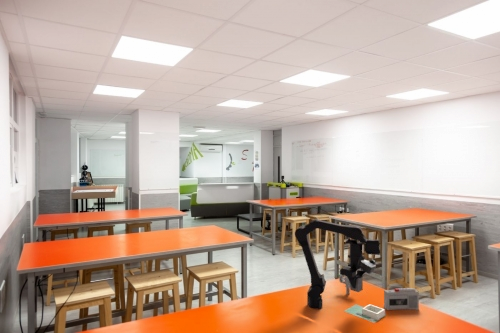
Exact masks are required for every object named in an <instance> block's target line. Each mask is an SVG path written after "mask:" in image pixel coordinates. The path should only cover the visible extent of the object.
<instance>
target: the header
mask: <svg viewBox="0 0 500 333" xmlns="http://www.w3.org/2000/svg"><path fill="white" fill-rule="evenodd" d="M363 307H364V308H362V314H363V315H366V316H368V317H371V318H375V319H377V320H378V319H380V318H381V317H383V316H384V315H386V309H385V308H382V307H379V306H376V305H373V304H370V303H369V304H368V305H365V306H363ZM384 317H385V316H384ZM384 317H383V318H384ZM381 319H382V318H381ZM381 319H380V320H381ZM378 321H379V320H378Z"/></svg>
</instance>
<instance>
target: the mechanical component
mask: <svg viewBox="0 0 500 333" xmlns="http://www.w3.org/2000/svg"><path fill="white" fill-rule="evenodd" d="M338 278H339V279H338V280H339V282H340V283H342V284H343V285H345V289H346V291H345V292H346V295H350V281H349V279H348V277H347V276H344V275H341V274H338Z"/></svg>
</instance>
